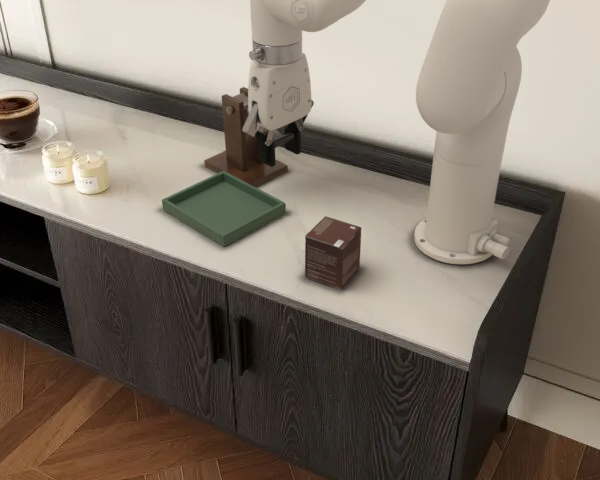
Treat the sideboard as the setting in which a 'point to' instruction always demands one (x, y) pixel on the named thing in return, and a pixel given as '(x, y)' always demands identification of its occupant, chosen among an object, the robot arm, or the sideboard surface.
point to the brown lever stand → (241, 148)
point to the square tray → (224, 207)
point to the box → (332, 252)
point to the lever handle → (277, 136)
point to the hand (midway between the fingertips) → (280, 156)
